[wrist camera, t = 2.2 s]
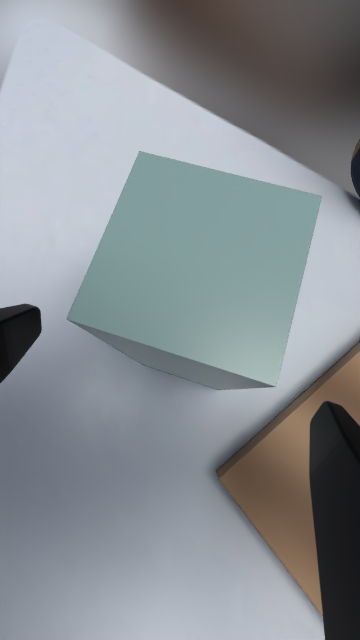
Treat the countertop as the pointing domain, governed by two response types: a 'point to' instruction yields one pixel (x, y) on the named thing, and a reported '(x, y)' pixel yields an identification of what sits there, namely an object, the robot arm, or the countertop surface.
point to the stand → (290, 473)
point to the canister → (356, 168)
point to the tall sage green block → (199, 273)
